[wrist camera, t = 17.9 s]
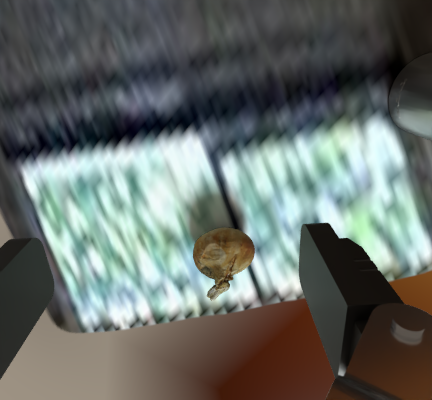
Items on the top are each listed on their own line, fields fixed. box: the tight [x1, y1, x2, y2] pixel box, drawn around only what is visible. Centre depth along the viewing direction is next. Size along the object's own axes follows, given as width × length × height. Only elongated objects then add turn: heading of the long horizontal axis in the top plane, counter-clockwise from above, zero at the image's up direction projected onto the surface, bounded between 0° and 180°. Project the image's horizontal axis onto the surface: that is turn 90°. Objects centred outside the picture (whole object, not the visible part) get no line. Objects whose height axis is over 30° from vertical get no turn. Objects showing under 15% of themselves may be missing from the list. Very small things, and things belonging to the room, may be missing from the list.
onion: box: [193, 227, 255, 301], centre depth 43 cm, size 8×8×8 cm
